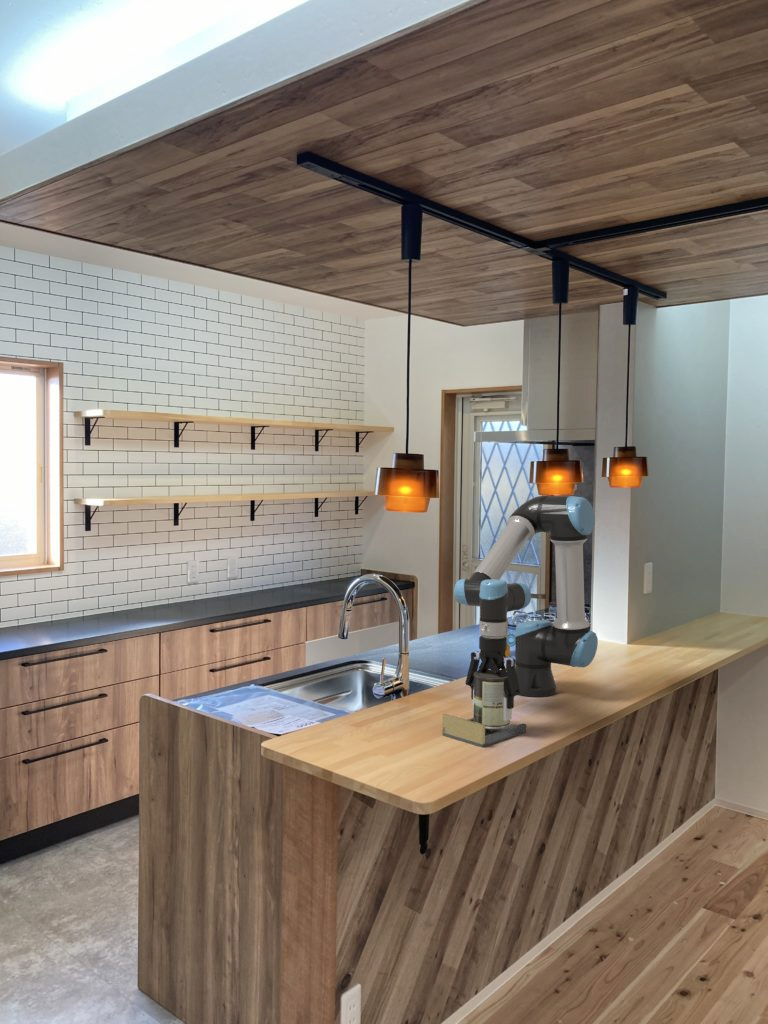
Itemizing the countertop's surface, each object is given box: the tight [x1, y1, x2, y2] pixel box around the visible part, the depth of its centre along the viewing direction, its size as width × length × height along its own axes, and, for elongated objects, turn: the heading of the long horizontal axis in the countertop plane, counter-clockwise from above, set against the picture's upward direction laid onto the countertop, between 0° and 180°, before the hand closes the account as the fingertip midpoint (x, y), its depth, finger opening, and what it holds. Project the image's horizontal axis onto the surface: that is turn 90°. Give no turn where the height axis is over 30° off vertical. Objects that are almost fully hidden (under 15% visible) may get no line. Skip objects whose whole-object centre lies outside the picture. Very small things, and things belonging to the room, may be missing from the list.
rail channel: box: [442, 713, 527, 748], centre depth 235 cm, size 19×14×6 cm
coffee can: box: [473, 669, 511, 729], centre depth 236 cm, size 10×10×14 cm
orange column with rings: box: [505, 617, 515, 658], centre depth 334 cm, size 12×10×15 cm
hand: (491, 715), depth 237 cm, fingers closed on coffee can, 10 cm apart
